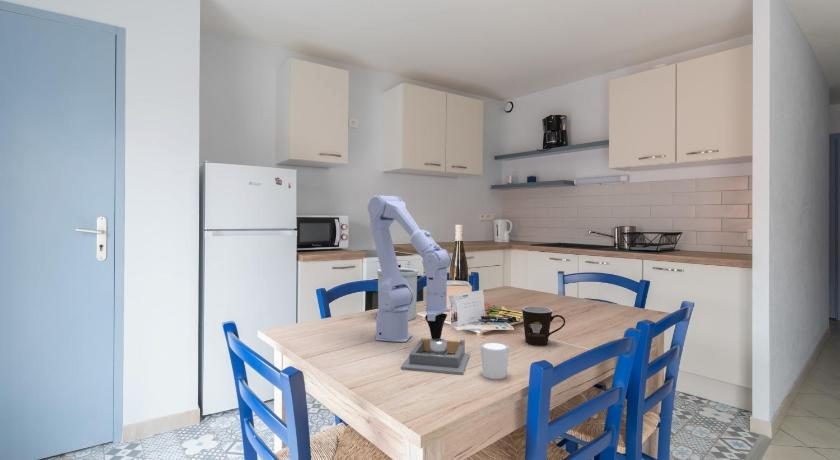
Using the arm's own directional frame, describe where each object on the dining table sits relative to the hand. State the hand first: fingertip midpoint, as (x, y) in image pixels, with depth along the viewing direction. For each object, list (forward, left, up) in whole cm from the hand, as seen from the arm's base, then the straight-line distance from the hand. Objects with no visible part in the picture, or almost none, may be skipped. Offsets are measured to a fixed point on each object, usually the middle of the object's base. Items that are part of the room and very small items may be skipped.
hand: (436, 340), depth 124 cm
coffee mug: (+29, +12, -3) cm, 32 cm away
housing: (+2, -11, -3) cm, 11 cm away
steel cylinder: (+2, -9, -3) cm, 10 cm away
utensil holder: (-21, +33, -3) cm, 39 cm away
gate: (+2, -3, -2) cm, 5 cm away
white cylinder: (+17, -16, -3) cm, 24 cm away
